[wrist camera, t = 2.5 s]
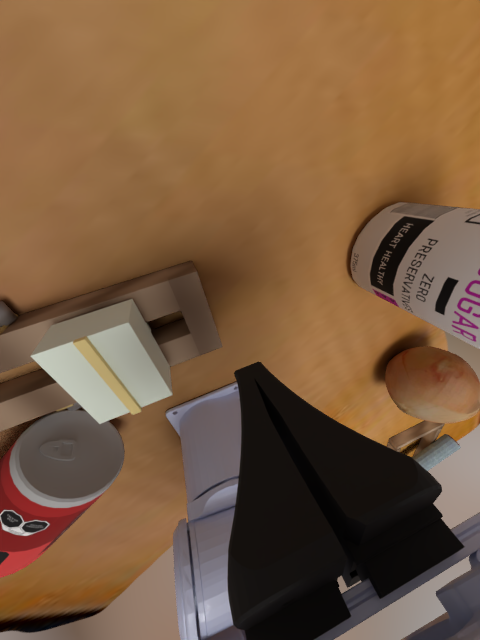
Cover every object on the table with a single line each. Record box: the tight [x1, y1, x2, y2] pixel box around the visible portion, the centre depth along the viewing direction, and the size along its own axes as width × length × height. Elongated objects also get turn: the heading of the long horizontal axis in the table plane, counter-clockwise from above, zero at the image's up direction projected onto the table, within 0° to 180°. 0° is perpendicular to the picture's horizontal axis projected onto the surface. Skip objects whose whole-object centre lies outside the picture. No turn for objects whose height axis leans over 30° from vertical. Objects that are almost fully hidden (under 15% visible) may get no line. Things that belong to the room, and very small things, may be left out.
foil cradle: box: [387, 421, 445, 456], centre depth 58 cm, size 12×28×2 cm, turn 13°
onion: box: [385, 346, 480, 423], centre depth 30 cm, size 10×10×10 cm
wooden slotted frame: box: [0, 261, 222, 432], centre depth 17 cm, size 26×10×2 cm, turn 102°
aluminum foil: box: [412, 434, 460, 471], centre depth 55 cm, size 23×7×3 cm, turn 130°
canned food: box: [0, 410, 125, 578], centre depth 20 cm, size 8×8×11 cm
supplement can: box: [350, 202, 480, 349], centre depth 17 cm, size 8×8×15 cm
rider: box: [31, 299, 173, 424], centre depth 16 cm, size 5×6×6 cm
